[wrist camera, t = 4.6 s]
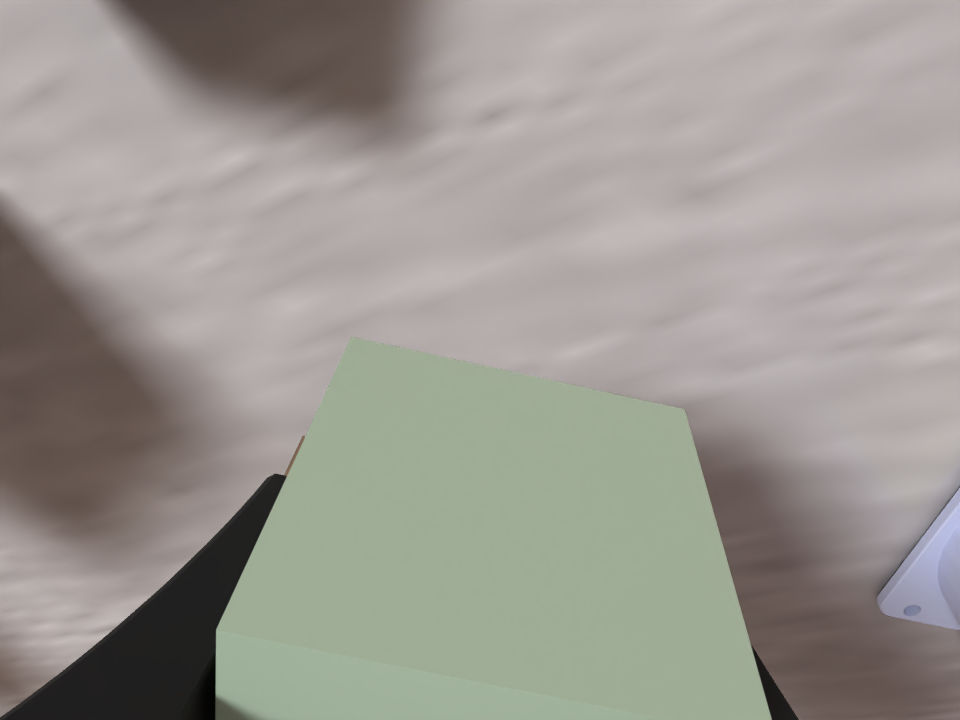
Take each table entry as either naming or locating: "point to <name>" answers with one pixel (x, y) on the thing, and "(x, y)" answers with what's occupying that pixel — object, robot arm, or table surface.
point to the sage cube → (486, 559)
